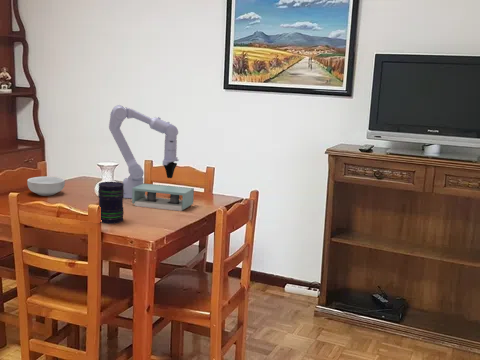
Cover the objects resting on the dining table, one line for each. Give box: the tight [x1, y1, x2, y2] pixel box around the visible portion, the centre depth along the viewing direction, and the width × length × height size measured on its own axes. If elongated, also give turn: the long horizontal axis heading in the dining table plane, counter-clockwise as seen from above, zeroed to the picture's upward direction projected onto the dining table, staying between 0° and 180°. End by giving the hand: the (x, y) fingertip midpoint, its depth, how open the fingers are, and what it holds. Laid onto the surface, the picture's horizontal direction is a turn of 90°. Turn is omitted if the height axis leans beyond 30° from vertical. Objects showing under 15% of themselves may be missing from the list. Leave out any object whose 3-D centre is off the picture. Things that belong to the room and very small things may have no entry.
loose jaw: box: [146, 192, 157, 202], centre depth 257 cm, size 4×4×6 cm
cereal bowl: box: [27, 175, 66, 197], centre depth 267 cm, size 17×17×7 cm
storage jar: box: [97, 181, 125, 225], centre depth 225 cm, size 10×10×15 cm
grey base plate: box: [134, 195, 190, 212], centre depth 256 cm, size 22×12×2 cm, turn 76°
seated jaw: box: [169, 194, 180, 204], centre depth 254 cm, size 4×4×6 cm
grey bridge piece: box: [131, 182, 195, 210], centre depth 255 cm, size 25×12×7 cm, turn 76°
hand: (169, 177), depth 272 cm, fingers closed
